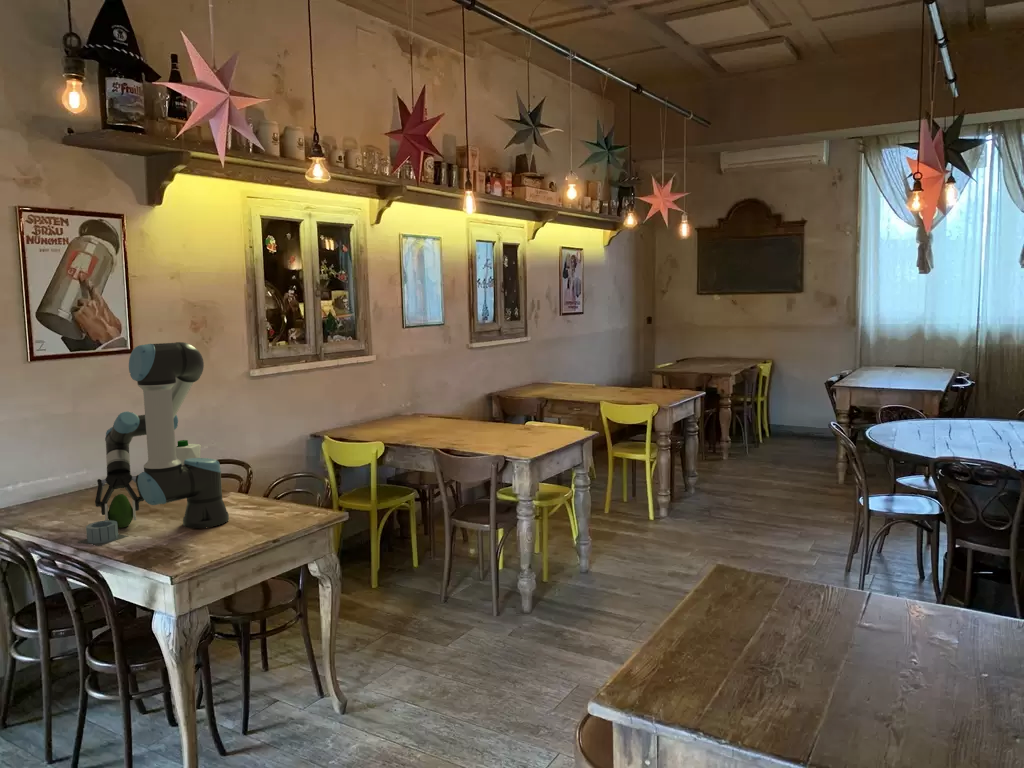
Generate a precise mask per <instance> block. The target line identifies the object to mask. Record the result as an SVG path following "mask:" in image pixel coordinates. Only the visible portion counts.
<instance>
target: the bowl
mask: <svg viewBox="0 0 1024 768" xmlns="http://www.w3.org/2000/svg"><path fill="white" fill-rule="evenodd" d="M85 532H86V533H85V534H86V539H87V542H88V543H92V544H97V543H105V542H110V541H113V540H115V539H117V538H118V534H119V528H118V525H117V521H113V520H109V519H108V520H106V521H105V520H100V521H94V522H91V523H89V524H87V525H86V526H85ZM113 542H114V541H113Z"/></svg>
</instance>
